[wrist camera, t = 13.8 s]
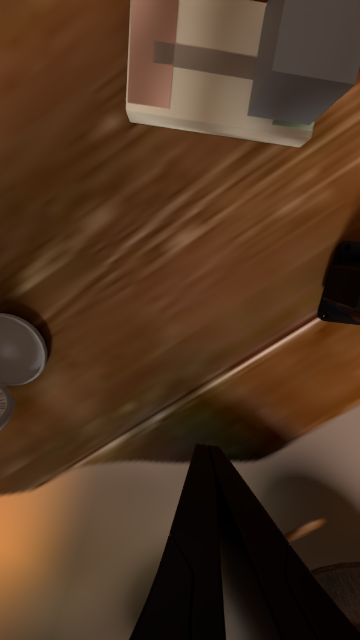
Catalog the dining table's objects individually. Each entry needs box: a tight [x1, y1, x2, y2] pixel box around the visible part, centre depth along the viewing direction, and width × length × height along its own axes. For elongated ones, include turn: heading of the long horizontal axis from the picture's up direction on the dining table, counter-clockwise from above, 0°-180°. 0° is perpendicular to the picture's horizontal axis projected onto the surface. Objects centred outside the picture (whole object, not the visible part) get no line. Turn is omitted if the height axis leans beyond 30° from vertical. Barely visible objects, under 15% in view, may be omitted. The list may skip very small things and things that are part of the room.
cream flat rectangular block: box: [126, 0, 315, 147], centre depth 15 cm, size 12×6×2 cm, turn 83°
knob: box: [247, 0, 360, 125], centre depth 12 cm, size 4×5×4 cm
